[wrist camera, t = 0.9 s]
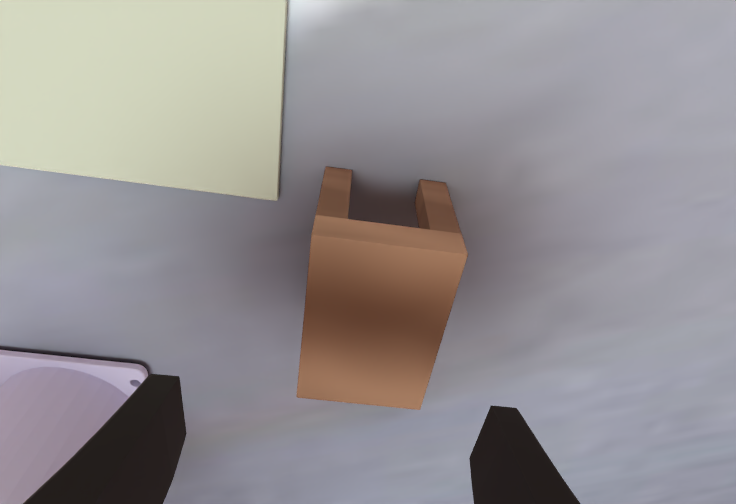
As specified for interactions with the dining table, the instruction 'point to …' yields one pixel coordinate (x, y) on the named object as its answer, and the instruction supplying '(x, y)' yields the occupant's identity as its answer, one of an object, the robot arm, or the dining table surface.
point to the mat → (146, 91)
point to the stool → (377, 298)
